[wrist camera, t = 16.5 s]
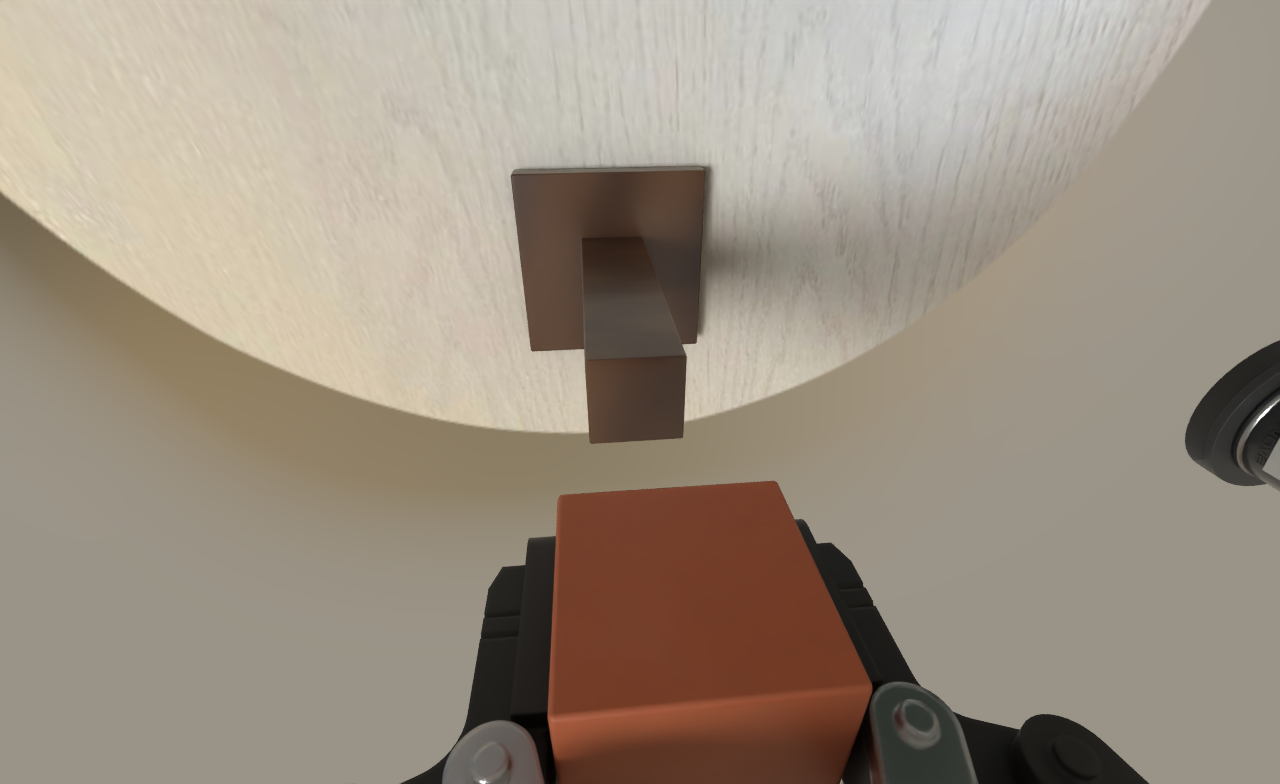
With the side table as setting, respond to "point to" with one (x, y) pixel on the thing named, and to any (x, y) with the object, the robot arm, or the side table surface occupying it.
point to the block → (696, 643)
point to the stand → (616, 285)
